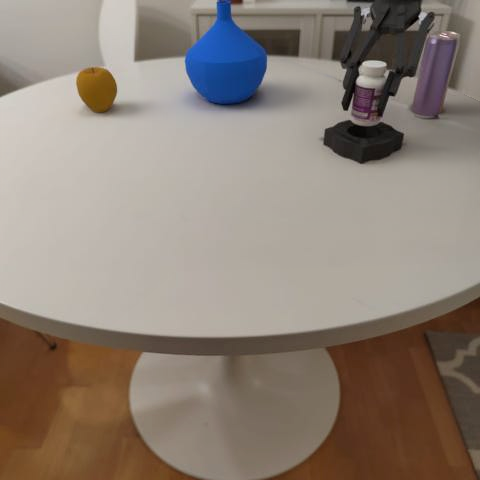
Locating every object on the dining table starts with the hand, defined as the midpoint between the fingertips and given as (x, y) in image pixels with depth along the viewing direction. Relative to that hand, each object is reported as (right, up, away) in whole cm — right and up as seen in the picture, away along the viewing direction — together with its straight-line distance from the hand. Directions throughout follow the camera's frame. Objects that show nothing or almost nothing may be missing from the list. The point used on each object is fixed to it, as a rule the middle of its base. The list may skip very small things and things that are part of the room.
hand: (361, 109), depth 77 cm
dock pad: (+2, -4, +8) cm, 9 cm away
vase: (-24, +14, +30) cm, 41 cm away
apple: (-52, +10, +26) cm, 59 cm away
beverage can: (+18, +6, +19) cm, 27 cm away
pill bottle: (+2, 0, +5) cm, 5 cm away
